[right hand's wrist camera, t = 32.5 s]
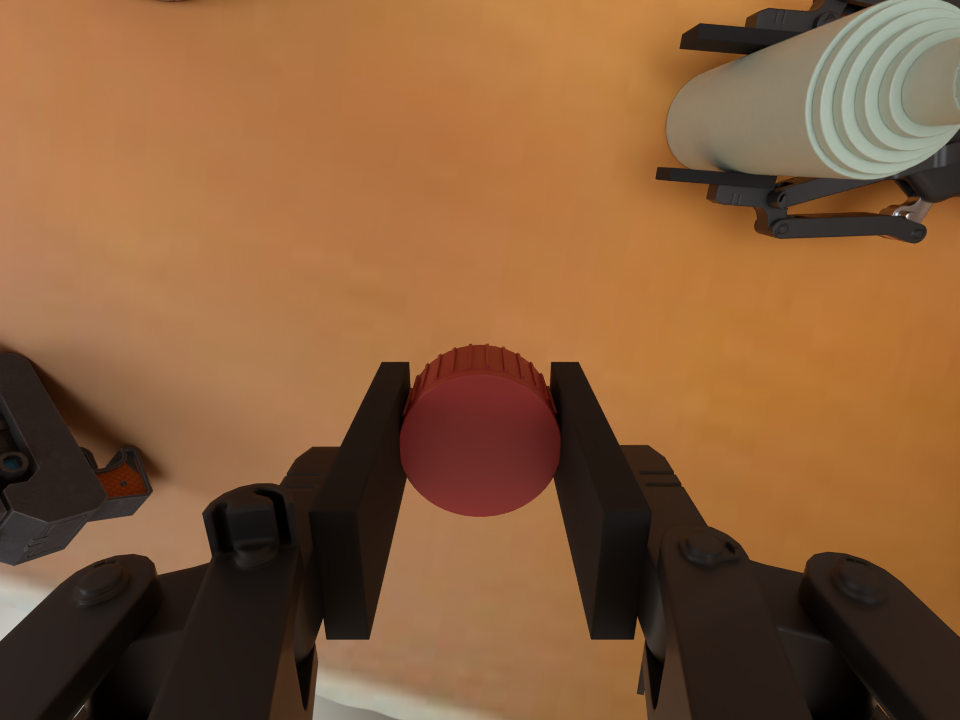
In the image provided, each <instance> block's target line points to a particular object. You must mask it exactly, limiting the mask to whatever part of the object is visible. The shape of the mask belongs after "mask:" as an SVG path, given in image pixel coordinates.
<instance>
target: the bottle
mask: <svg viewBox="0 0 960 720" xmlns="http://www.w3.org/2000/svg"><path fill="white" fill-rule="evenodd" d="M959 129H960V9H959V8H958V7H956V6H954V5H952V4H950V3H948V2H945V1H941V0H887V1H884V2H881V3H878V4H876V5H873V6H871V7H868V8H866V9H863V10H861V11H858V12H856V13H853V14H850V15H848V16H845V17H843V18H840V19H838V20H835V21H833V22H830V23H828V24H825V25H823V26H820V27H817V28H815V29H812V30H810V31H807V32H805V33H802V34H800V35H797V36H795V37H792V38H790V39H787V40H785V41H782V42H779V43H777V44H774V45H772V46H769V47H767V48H764V49H762V50H759V51H757V52H754V53H752V54H749V55H746V56H744V57H741V58H739V59H736V60H734V61H731V62H729V63H726V64H724V65H721V66H719V67H716V68H713V69H711V70H708V71H706V72H703V73H701V74H699V75H697V76H696V77H694V78H693V79H691V80H690V81H689V82H687V83H686V84H685V85H684V86H683V87H682V88H681V90H680V91H679V92H678V94H677V95H676V97H675V98H674V100H673V102H672V104H671V106H670V109H669V112H668V116H667V122H666V135H667V141H668V144H669V147H670V149H671V151H672V153H673V155H674V156H675V157H676V159H677V160H678V161H679V162H680V163H682V164H683V165H684V166H686V167H688V168H690V169H695V170H707V171H720V172H733V173H745V174H757V175H778V176H798V177H818V178H838V179H858V180H872V179H879V178H885V177H888V176H892V175H895V174H897V173H900V172H902V171H904V170H906V169H908V168H910V167H913V166H915V165H917V164H919V163H921V162H922V161H924V160H926V159H927V158H929V157H930V156H932V155H933V154H935V153H936V152H937V151H938V150H940V149H941V148H942V147H943V146H944V145H945V144H946V143H947V142H948V141H949V140H950V139H951V138H952V137H953V136H954V135H955V133H956V132H957V131H958V130H959Z"/></svg>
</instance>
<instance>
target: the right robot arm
mask: <svg viewBox="0 0 960 720" xmlns="http://www.w3.org/2000/svg"><path fill="white" fill-rule="evenodd" d="M160 1H183V0H160ZM409 391H410V369H409V362H382V363H381V365H380V367H379V369H378V371H377V373H376V375H375V377H374V379H373V381H372V383H371V385H370V387H369V389H368V391H367V393H366V395H365V397H364V399H363V401H362V403H361V406H360V408H359V410H358V412H357V414H356V416H355V418H354V420H353V422H352V424H351V426H350V428H349V430H348V432H347V434H346V436H345V438H344V440H343V442H342V444H341V446H340V447H312V448H310V449H309V450H307V451H306V452H305V453H303V454H302V455H301V456H299V457H298V458H297V459H295V461H294V463H293V464H292V466H291V467H290V469H289V471H288V472H287V476H285V477H284V479H283V480H282V482H281V484H280V485H276V484H273V483H256V484H251V485H247V486H242V487H238V488H236V489H234V490H231V491H229V492H226V493H224V494H222V495H221V496H219V497H218V498H217V499H215V500H214V501H212V502H211V503H210V504H209V505H208V506H207V508H206V509H205V510H204V511H203V513H202V515H203V519H204V523H205V528H206V532H207V536H208V540H209V545H210V549H211V553H212V558H211V561H210V562H209V563H206V564H203V565H199V566H196V567H192V568H188V569H183V570H179V571H174V572H170V573H165V574H161V575H157V571H156V568H155V564H154V563H153V562H152V561H151V560H150V559H149V558H148V557H146V556H141V555H136V554H128V555H118V556H113V557H110V558H107V559H103V560H100V561H97V562H95V563H93V564H91V565H89V566H87V567H85V568H83V569H81V570H79V571H77V572H76V573H74V574H73V575H72V576H70V577H69V578H68V579H66V580H65V581H64V582H62V583H61V584H60V585H59V586H58V587H57V588H56V589H55V590H54V591H52V592H51V593H50V594H49V595H48V596H47V597H46V598H45V599H44V600H43V601H42V602H41V603H40V604H39V605H38V606H37V607H36V608H35V609H34V610H33V611H32V612H30V613H29V614H28V615H27V616H26V617H25V618H24V619H23V620H22V621H21V622H20V623H19V624H18V625H17V626H16V627H15V628H14V629H13V630H12V631H11V632H10V633H8V634H7V635H6V636H5V637H4V638H3V639H2V640H1V641H0V720H312V717H313V707H314V697H315V688H316V678H317V668H318V658H317V651H316V644H315V640H316V637H317V634H318V631H319V629H320V626H321V623H322V620H323V619H324V626H325V633H326V640H369V638H370V634H371V630H372V625H373V621H374V617H375V612H376V608H377V604H378V599H379V595H380V591H381V587H382V582H383V578H384V574H385V569H386V565H387V561H388V556H389V552H390V548H391V543H392V539H393V535H394V530H395V526H396V522H397V518H398V513H399V509H400V505H401V500H402V496H403V492H404V487H405V483H406V479H407V476H406V474H405V472H404V470H403V467H402V464H401V456H400V440H399V434H400V430H401V426H402V422H403V419H404V417H403V416H402V414H403V411H404V407H405V404H406V401H407V398H408V394H409ZM550 391H551V394H552V397H553V400H554V404H555V407H556V410H557V413H558V414H556V418H557V421H558V424H559V428H560V433H561V446H560V460H559V465H558V468H557V470H556V473H555V475H554V476H553V477H554V482H555V486H556V490H557V495H558V499H559V503H560V507H561V512H562V516H563V520H564V525H565V529H566V533H567V538H568V542H569V546H570V551H571V555H572V559H573V564H574V568H575V572H576V576H577V581H578V585H579V589H580V594H581V598H582V602H583V607H584V611H585V615H586V620H587V624H588V628H589V633H590V637H591V640H634V635H635V628H636V621H637V616H638V619H639V622H640V625H641V628H642V631H643V634H644V637H645V644H644V651H643V657H642V664H641V670H640V677H639V683H638V690H637V694H641V695H644V691H645V696H646V706H647V716H648V720H890V719H891V720H960V637H959V636H958V635H957V634H956V633H955V632H954V631H952V630H951V629H950V628H949V627H948V626H947V625H946V624H945V623H944V622H943V621H942V620H941V619H940V618H939V617H938V616H937V615H936V614H935V613H933V612H932V611H931V610H930V609H929V608H928V607H927V606H926V605H925V604H924V603H923V602H922V601H921V600H920V599H919V598H918V597H917V596H916V595H914V594H913V593H912V592H911V591H910V590H909V589H908V588H907V587H906V586H905V585H904V584H903V583H902V582H901V581H899V580H898V579H897V578H895V577H894V576H893V575H891V574H890V573H889V572H887V571H886V570H885V569H883V568H881V567H879V566H877V565H875V564H873V563H871V562H869V561H867V560H865V559H861V558H859V557H855V556H852V555H848V554H845V553H835V552H824V553H819V554H814V555H813V556H812V557H811V558H810V559H809V560H808V561H807V563H806V566H805V569H804V573H800V572H796V571H791V570H787V569H782V568H778V567H773V566H769V565H765V564H762V563H758V562H755V561H752V560H749V557H748V555H747V554H746V552H745V551H744V549H743V548H742V546H741V545H740V544H739V543H738V542H736V541H735V540H734V539H733V538H731V537H730V536H729V535H727V534H725V533H723V532H721V531H719V530H717V529H714V528H712V527H708V526H707V524H706V522H705V521H704V519H703V518H702V516H701V514H700V513H699V511H698V510H697V508H696V506H695V505H694V503H693V502H692V500H691V498H690V497H689V495H688V494H687V492H686V490H685V489H684V487H682V486H681V482H680V481H679V479H678V478H677V476H676V475H674V471H673V470H672V468H671V466H670V465H669V463H668V462H667V460H666V458H665V457H664V456H662V455H661V454H659V453H658V452H657V451H655V450H654V449H653V448H651V447H650V446H649V445H619V443H618V441H617V439H616V437H615V435H614V433H613V431H612V429H611V427H610V425H609V423H608V421H607V419H606V417H605V415H604V413H603V411H602V409H601V407H600V405H599V403H598V401H597V399H596V397H595V395H594V393H593V391H592V388H591V386H590V384H589V382H588V380H587V378H586V376H585V374H584V372H583V370H582V368H581V366H580V364H579V362H551V375H550ZM877 702H878V703H879V705H880V706H881V707H882V708H883V710H884V711H885V712H886V714H887V715H888V716H889V717H890V719H889V718H888V717H887V716H886V715H885V713H884V712H883V711H882V709H881V708H880V707H879V706H878V704H877ZM83 705H84V706H83ZM82 706H83V708H82ZM81 708H82V709H81ZM80 709H81V710H80ZM79 710H80V712H79V713H78V711H79ZM77 713H78V714H77ZM76 714H77V715H76ZM75 715H76V717H75ZM74 717H75V718H74ZM73 718H74V719H73Z"/></svg>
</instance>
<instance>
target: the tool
mask: <svg viewBox="0 0 960 720" xmlns="http://www.w3.org/2000/svg"><path fill="white" fill-rule="evenodd" d="M152 492H153V490H152V487H151V484H150V482H149V479H148V476H147V474H146V471H145V468H144V465H143V463H142V460H141V457H140V455H139V452H138V449H137V448H135V447H128V448H121V449H120V450H119V451H118V452H117V454H116V455H115V456H114V457H113V458H112V460H111V461H110V462H109V463H108V464H107V466H106V467H105V468H102V469H98V466H97V463H96V461H95V459H94V456H93V454H92V453H91V452H90V451H89V450H87V449H85V448H83V447H79V446H78V444H77V442H76V441H75V439H74V437H73V435H72V434H71V432H70V430H69V429H68V427H67V425H66V424H65V422H64V420H63V418H62V417H61V415H60V413H59V412H58V410H57V408H56V407H55V405H54V403H53V402H52V400H51V398H50V396H49V395H48V393H47V391H46V390H45V388H44V386H43V385H42V383H41V381H40V379H39V378H38V376H37V374H36V373H35V371H34V369H33V368H32V366H31V364H30V362H29V361H28V360H27V359H25V358H23V357H21V356H19V355H17V354H14V353H0V562H2V563H6V564H9V565H13V566H15V565H18V564H21V563H24V562H27V561H30V560H33V559H36V558H39V557H42V556H45V555H48V554H51V553H54V552H57V551H60V550H63V549H65V548H66V546H67V545H68V544H69V543H70V542H71V540H72V539H73V538H74V537H75V536H76V535H77V533H78V532H79V531H80V530H81V529H82V527H83V526H84V525H85V524H86V523H87V522H91V521H97V520H104V519H111V518H118V517H124V516H131V515H133V514H134V513H135V512H136V511H137V510H138V508H139V507H140V506H141V505H142V504H143V503H144V502H145V500H146V499H147V498H148V497H149V496H150V494H151V493H152Z"/></svg>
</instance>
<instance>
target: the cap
mask: <svg viewBox="0 0 960 720" xmlns="http://www.w3.org/2000/svg"><path fill="white" fill-rule="evenodd" d="M556 414H558V413H557V410H556V407H555V404H554V400H553V397H552V394H551V391H550V388H549V386H546V384H545V381H544V377H543V374H542V373H540V374H539V373H538V371H537V370H536V369H535V368H534V366H533V363H532V362H530V363H529V362H528V361H526V360H525V359H524V358H522V357H521V356H520V354H519V353H517V354H515V353H514V352H511V351H509V350H506V349H505V347H502V348H499V347H496V346H489V344H486V345H472V344H469V346H465V347H460V348H457V349H456V347H455V348H453V350H452V351H449V352H447V353H445V354H443V355H441V354H440V355H438V358H437V359H435V360H434V361H432V362H431V363H430V364H428V363H427V364H426V367H425V369H424V370H423V372H422V373H421V374H420V376H419V375H417V376H416V379H415V383H414V386H413V388H410V391H409V394H408V398H407V401H406V404H405V407H404V411H403V414H402V416H403V417H404V419H403V422H402V426H401V430H400V434H399V440H400V456H401V464H402V467H403V470H404V472H405V474H406V476H407V478H408V479H409V481H410V482H411V484H412V485H413V486H414V488H415V489H416V490H417V491H418V492H419V493H420V494H421V495H422V496H423V497H425V498H426V499H427V500H428V501H430V502H431V503H433V504H435V505H436V506H438V507H440V508H442V509H444V510H447V511H450V512H453V513H456V514H460V515H465V516H474V517H486V516H495V515H500V514H505V513H508V512H511V511H514V510H516V509H518V508H520V507H522V506H524V505H526V504H527V503H529V502H531V501H532V500H533V499H534V498H536V497H537V496H538V495H539V494H540V493H541V492H542V491H543V490H544V489H545V488H546V487H547V485H548V484H549V483H550V482H551V480H552V478H553V476H554V475H555V473H556V470H557V468H558V465H559V460H560V446H561V433H560V428H559V424H558V421H557V418H556Z"/></svg>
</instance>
